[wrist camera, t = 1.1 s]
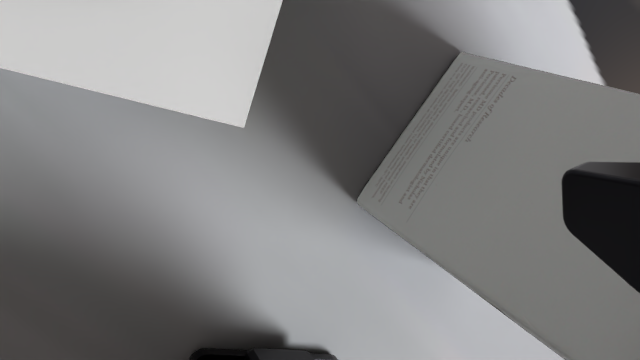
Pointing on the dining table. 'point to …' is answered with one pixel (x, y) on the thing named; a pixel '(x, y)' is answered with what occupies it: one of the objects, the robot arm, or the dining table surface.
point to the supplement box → (515, 198)
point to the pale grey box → (145, 49)
